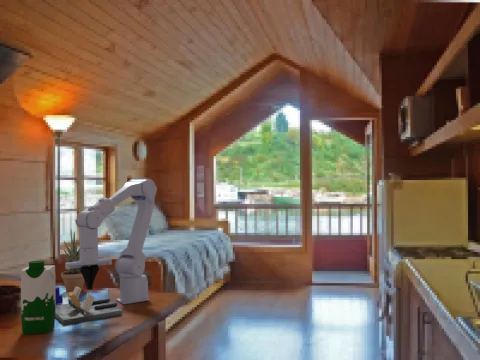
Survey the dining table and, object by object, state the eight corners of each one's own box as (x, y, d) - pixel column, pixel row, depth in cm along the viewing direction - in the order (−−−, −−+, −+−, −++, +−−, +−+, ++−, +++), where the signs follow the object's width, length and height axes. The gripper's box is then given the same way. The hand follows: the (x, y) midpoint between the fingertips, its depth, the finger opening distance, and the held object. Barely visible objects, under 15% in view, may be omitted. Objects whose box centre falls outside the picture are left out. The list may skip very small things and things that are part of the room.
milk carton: (17, 335, 129) (17, 263, 129) (27, 326, 138) (27, 258, 138) (51, 334, 130) (50, 262, 131) (58, 324, 139) (58, 257, 140)
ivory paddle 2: (85, 308, 147) (91, 295, 148) (89, 311, 144) (95, 297, 145) (82, 307, 146) (87, 294, 147) (85, 310, 143) (91, 296, 144)
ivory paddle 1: (73, 299, 158) (78, 287, 159) (76, 302, 155) (81, 289, 156) (69, 298, 157) (75, 286, 159) (72, 300, 155) (78, 288, 156)
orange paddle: (77, 302, 152) (71, 291, 151) (80, 305, 149) (74, 293, 148) (74, 304, 151) (67, 293, 150) (77, 307, 149) (70, 295, 147)
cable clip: (62, 303, 165) (62, 286, 165) (53, 306, 161) (52, 289, 161) (37, 300, 170) (36, 283, 170) (27, 303, 166) (27, 286, 166)
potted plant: (69, 287, 190) (69, 227, 190) (91, 288, 188) (90, 227, 188) (55, 293, 180) (55, 229, 180) (77, 294, 178) (77, 229, 178)
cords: (109, 301, 160) (109, 298, 160) (117, 306, 154) (117, 303, 154) (87, 304, 156) (87, 301, 156) (94, 309, 149) (94, 306, 149)
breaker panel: (101, 302, 165) (101, 294, 165) (122, 315, 148) (122, 306, 149) (48, 310, 155) (48, 302, 155) (64, 325, 138) (64, 315, 138)
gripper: (106, 244, 160) (106, 283, 160) (62, 248, 152) (63, 289, 152) (113, 246, 154) (114, 287, 154) (68, 250, 146) (69, 293, 146)
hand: (89, 288), depth 153 cm, fingers closed
